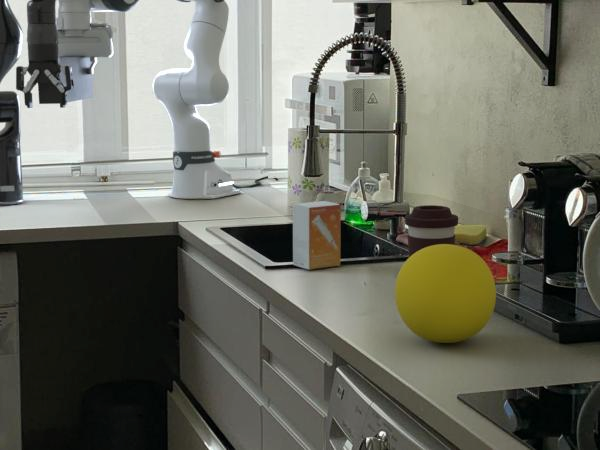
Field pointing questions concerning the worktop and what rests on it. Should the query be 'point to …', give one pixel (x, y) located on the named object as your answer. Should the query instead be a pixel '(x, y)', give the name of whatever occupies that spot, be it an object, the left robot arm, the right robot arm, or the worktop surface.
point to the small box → (316, 234)
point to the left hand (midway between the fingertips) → (46, 107)
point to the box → (81, 82)
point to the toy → (445, 293)
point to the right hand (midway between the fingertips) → (77, 74)
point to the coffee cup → (430, 227)
